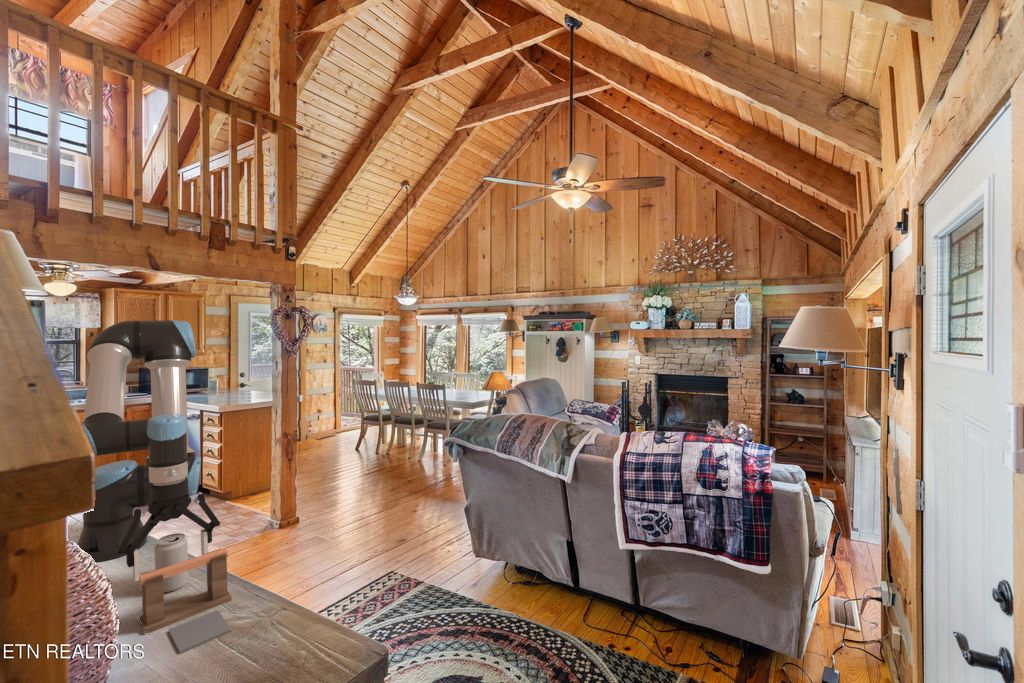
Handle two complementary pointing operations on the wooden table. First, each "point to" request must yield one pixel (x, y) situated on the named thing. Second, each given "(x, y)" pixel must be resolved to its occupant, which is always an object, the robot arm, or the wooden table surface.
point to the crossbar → (182, 566)
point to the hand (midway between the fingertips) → (172, 567)
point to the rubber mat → (199, 631)
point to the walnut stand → (164, 616)
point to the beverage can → (172, 559)
